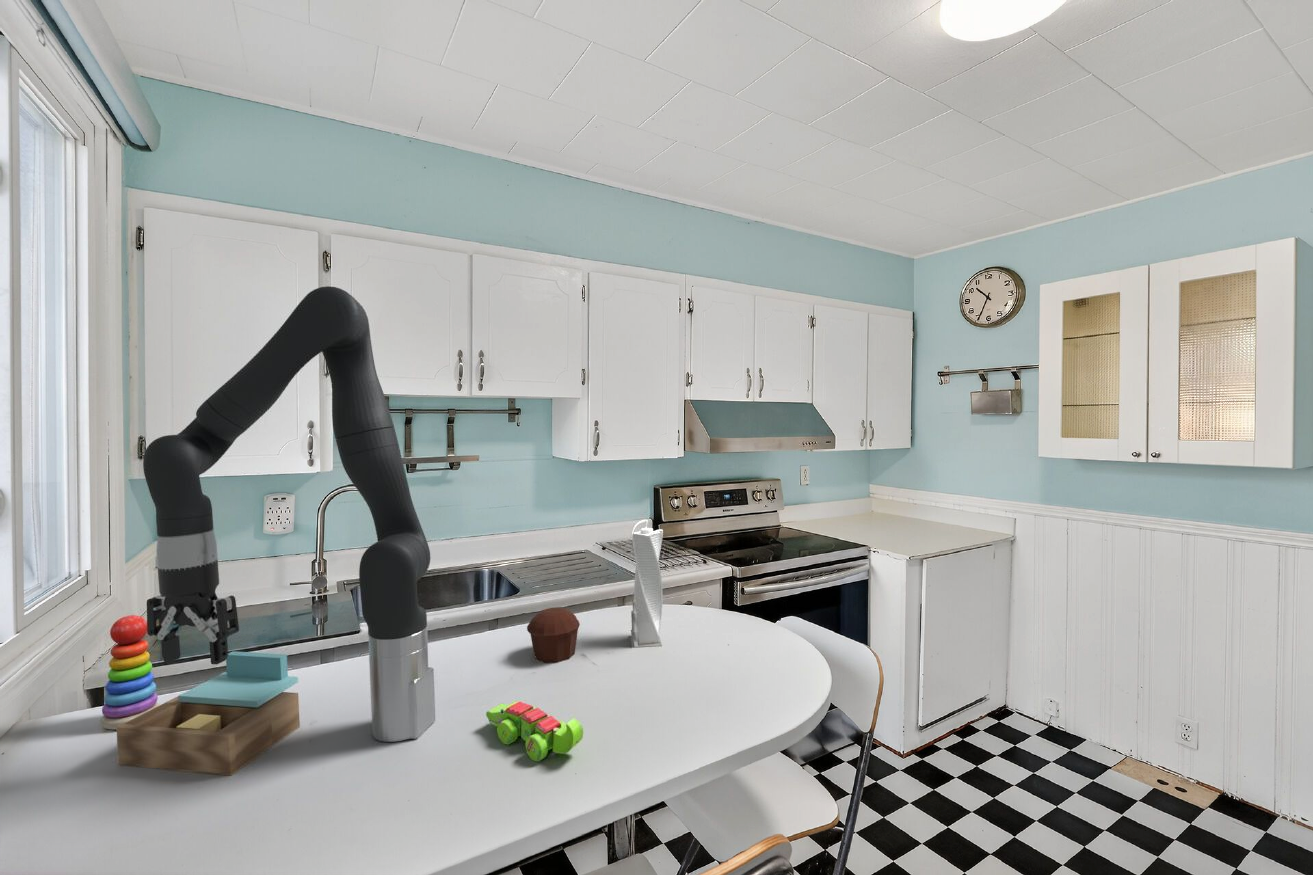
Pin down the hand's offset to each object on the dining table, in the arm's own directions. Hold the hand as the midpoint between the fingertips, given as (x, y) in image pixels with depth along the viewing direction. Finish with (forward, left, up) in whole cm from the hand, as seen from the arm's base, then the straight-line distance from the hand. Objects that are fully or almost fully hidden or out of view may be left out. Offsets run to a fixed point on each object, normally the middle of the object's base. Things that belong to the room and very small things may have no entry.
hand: (195, 661), depth 96 cm
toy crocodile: (-52, -11, -16) cm, 55 cm away
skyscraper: (-63, -56, -16) cm, 85 cm away
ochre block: (0, 0, -15) cm, 15 cm away
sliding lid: (0, -8, -9) cm, 12 cm away
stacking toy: (+22, -8, -15) cm, 28 cm away
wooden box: (0, -3, -15) cm, 15 cm away
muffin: (-44, -45, -15) cm, 64 cm away
